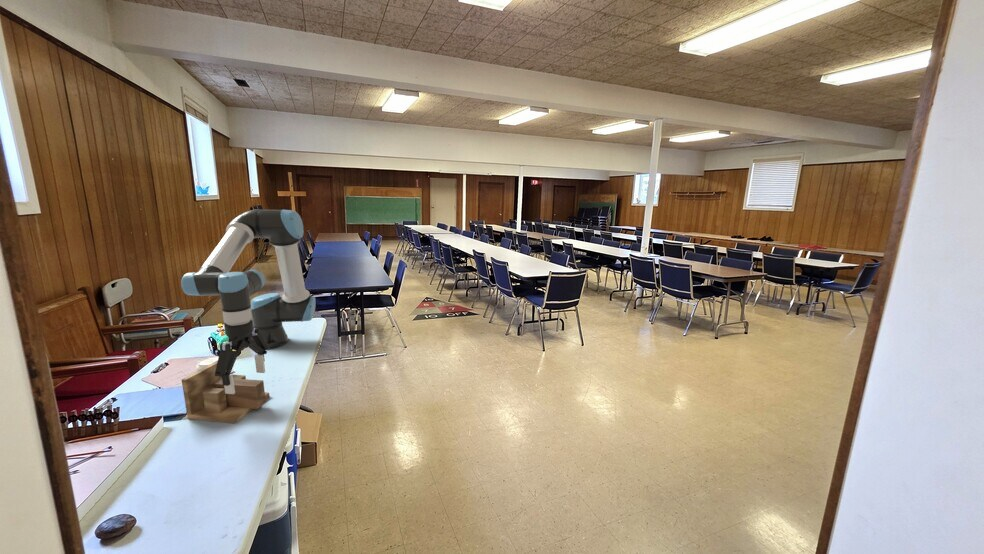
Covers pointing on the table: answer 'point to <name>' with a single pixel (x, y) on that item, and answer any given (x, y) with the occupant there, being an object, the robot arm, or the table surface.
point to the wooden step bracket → (210, 397)
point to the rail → (245, 393)
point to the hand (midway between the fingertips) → (246, 382)
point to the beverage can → (206, 362)
